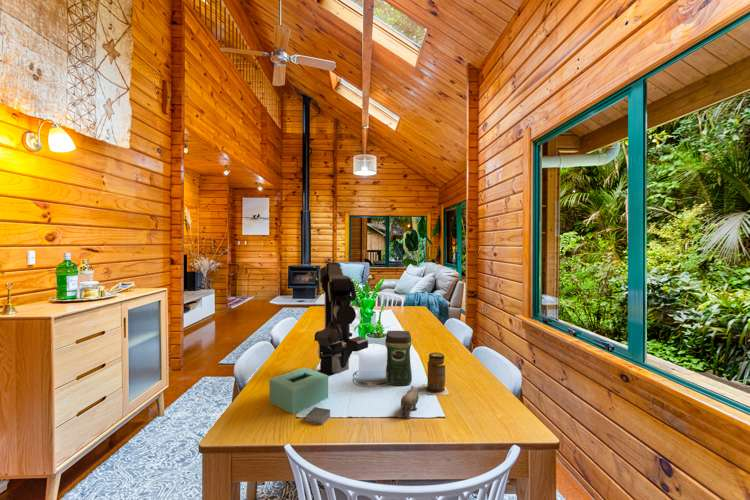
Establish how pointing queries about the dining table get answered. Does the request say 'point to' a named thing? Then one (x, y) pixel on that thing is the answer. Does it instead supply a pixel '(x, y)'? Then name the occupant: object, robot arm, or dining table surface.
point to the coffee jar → (398, 358)
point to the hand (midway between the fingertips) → (340, 366)
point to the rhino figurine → (409, 401)
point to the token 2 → (338, 364)
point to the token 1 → (318, 416)
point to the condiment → (436, 375)
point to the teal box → (298, 389)
